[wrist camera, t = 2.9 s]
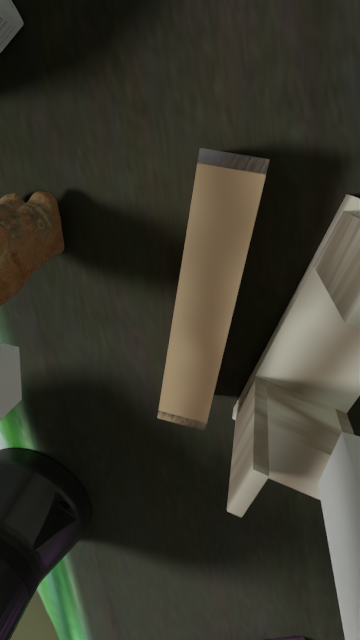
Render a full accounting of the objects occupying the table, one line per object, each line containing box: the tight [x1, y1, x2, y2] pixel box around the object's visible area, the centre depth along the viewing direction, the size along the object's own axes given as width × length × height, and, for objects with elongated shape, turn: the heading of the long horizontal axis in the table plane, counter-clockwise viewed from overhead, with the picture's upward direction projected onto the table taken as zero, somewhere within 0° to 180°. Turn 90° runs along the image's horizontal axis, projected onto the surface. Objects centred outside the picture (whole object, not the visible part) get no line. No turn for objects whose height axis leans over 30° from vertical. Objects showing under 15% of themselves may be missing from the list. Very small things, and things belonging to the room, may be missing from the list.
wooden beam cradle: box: [227, 194, 360, 518], centre depth 22 cm, size 8×20×12 cm, turn 161°
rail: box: [157, 148, 270, 431], centre depth 26 cm, size 4×20×5 cm, turn 171°
